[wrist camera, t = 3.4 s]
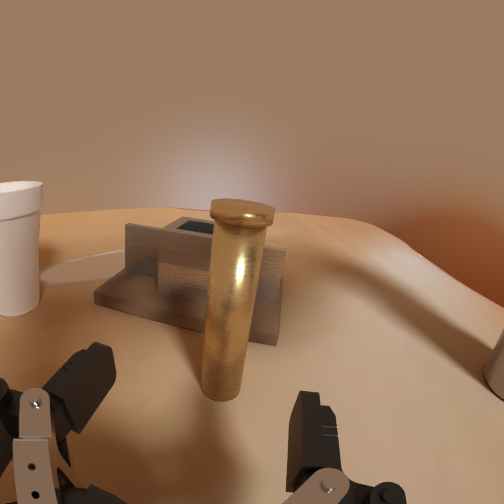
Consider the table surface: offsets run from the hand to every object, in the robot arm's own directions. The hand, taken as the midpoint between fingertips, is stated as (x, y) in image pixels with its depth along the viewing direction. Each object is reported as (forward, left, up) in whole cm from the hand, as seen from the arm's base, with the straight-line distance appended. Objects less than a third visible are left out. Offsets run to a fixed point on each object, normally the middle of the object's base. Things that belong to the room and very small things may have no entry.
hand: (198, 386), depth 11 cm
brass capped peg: (0, -8, -8) cm, 11 cm away
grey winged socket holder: (+6, -22, -6) cm, 24 cm away
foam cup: (+25, -10, -8) cm, 28 cm away
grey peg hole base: (+6, -22, -8) cm, 24 cm away
